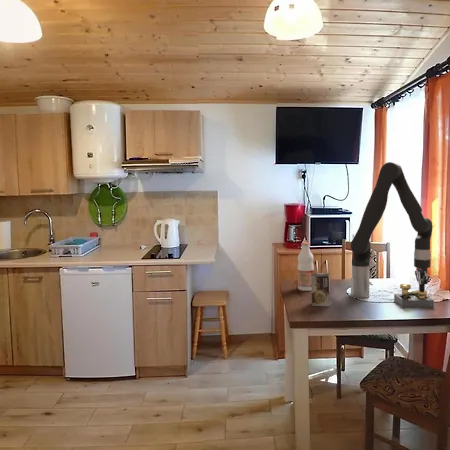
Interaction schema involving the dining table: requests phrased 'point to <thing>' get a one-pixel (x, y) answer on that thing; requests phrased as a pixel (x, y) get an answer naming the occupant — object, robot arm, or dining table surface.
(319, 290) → the coffee box
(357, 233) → the robot arm
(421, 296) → the brass knob
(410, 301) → the level base plate
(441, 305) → the dining table surface
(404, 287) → the brass knob
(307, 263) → the fruit juice
